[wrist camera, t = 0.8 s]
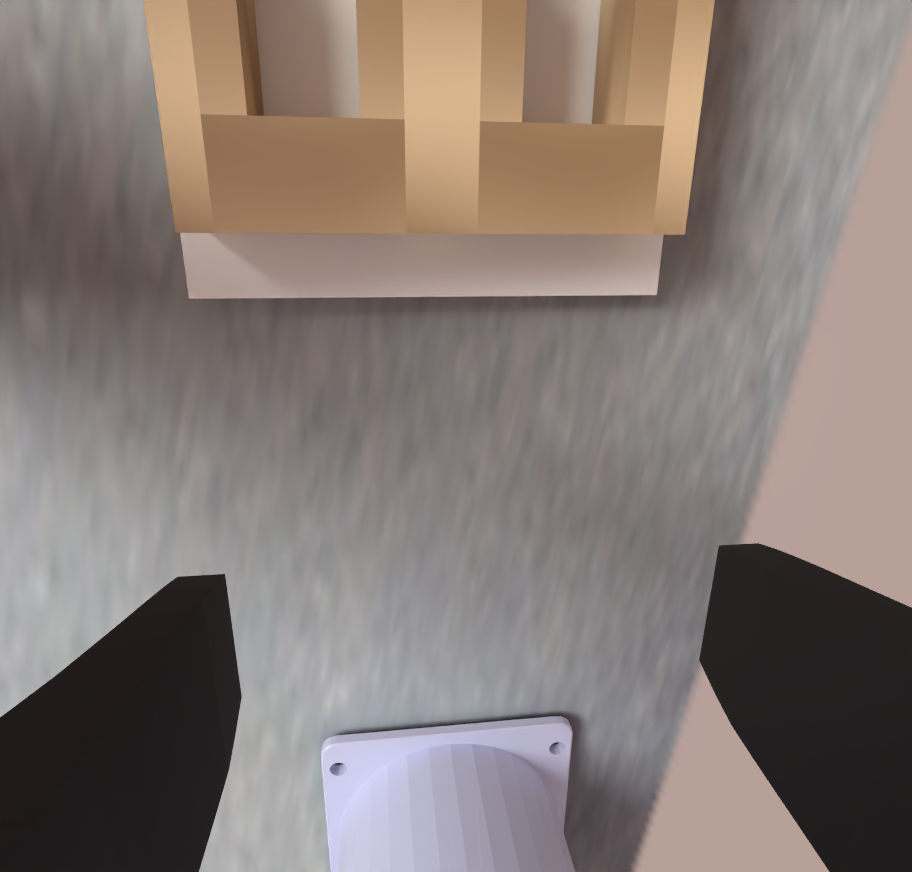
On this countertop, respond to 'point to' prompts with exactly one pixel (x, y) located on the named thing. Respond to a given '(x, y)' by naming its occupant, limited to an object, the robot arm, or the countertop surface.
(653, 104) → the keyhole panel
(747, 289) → the countertop surface
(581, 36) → the mounting plate
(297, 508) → the countertop surface
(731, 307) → the countertop surface
